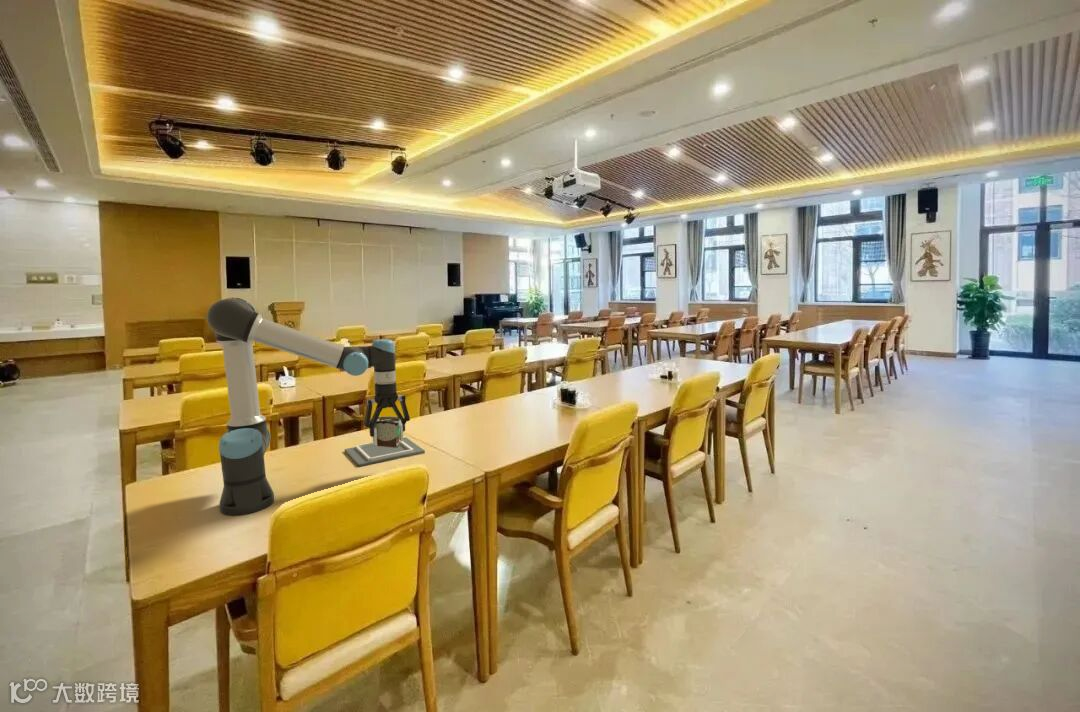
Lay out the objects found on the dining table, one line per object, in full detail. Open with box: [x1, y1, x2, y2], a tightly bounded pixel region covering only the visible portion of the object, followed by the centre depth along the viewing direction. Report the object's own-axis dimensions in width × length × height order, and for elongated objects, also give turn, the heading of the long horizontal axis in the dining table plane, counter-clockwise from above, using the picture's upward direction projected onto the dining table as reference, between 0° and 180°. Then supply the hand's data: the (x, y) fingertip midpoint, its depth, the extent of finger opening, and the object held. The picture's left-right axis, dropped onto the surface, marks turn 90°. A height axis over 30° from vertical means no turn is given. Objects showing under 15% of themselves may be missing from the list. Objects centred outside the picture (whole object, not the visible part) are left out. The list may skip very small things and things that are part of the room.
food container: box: [374, 416, 402, 448], centre depth 192 cm, size 12×6×10 cm, turn 74°
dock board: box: [344, 436, 426, 468], centre depth 214 cm, size 26×22×2 cm
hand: (388, 442), depth 193 cm, fingers closed on food container, 9 cm apart
